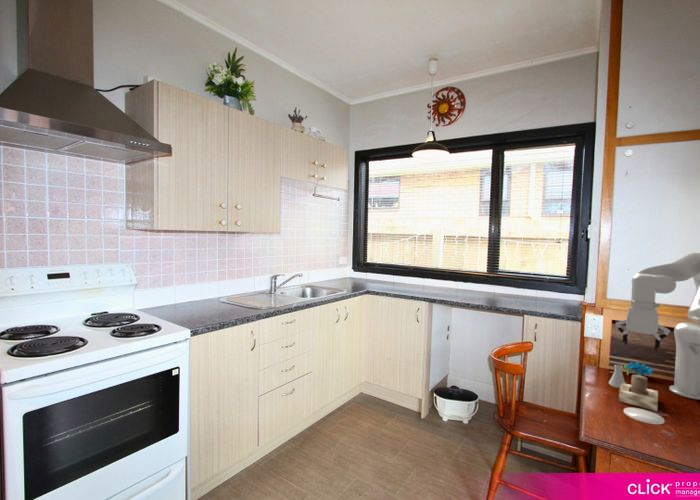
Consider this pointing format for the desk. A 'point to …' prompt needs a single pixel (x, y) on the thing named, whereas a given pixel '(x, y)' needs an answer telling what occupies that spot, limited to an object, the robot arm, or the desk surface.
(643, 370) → the blue toy figure
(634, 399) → the birch holder
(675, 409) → the desk surface
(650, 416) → the white round dome
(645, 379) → the walnut peg
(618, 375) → the flask
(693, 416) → the desk surface
